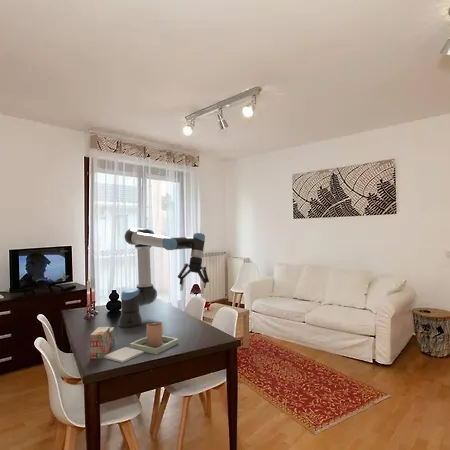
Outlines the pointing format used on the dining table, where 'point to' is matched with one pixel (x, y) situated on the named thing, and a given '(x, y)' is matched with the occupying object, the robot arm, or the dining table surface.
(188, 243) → the robot arm
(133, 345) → the frame
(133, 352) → the ceramic tile
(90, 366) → the dining table surface
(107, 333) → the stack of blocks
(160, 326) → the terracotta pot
